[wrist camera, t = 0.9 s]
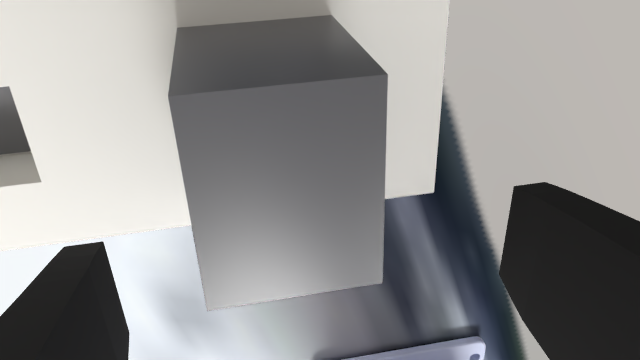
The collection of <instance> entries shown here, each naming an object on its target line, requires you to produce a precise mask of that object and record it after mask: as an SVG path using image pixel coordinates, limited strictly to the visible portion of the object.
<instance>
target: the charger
mask: <svg viewBox="0 0 640 360" xmlns="http://www.w3.org/2000/svg"><path fill="white" fill-rule="evenodd" d="M387 90H388V74H387V73H386V72H385V71H384V70H383V68H382V67H381V66H380V65H379V64H378V63H377V62H376V61H375V60H374V59H373V58H372V57H371V56H370V55H369V54H368V53H367V52H366V51H365V50H364V48H363V47H362V46H361V45H360V44H359V43H358V42H357V41H356V40H355V39H354V38H353V37H352V36H351V35H350V34H349V33H348V32H347V31H346V29H345V28H344V27H343V26H342V25H341V24H340V23H339V22H338V21H337V20H336V19H335V18H334V17H333V16H332V15H326V16H313V17H301V18H289V19H277V20H265V21H253V22H241V23H229V24H216V25H204V26H192V27H180V28H177V32H176V39H175V47H174V54H173V62H172V69H171V77H170V84H169V92H168V100H169V105H170V111H171V116H172V121H173V127H174V132H175V138H176V143H177V149H178V154H179V160H180V165H181V171H182V176H183V182H184V187H185V193H186V198H187V203H188V209H189V214H190V220H191V225H192V231H193V236H194V242H195V247H196V253H197V258H198V264H199V269H200V274H201V280H202V285H203V291H204V296H205V302H206V307H207V311H211V310H218V309H224V308H230V307H236V306H243V305H249V304H255V303H262V302H268V301H274V300H280V299H287V298H293V297H299V296H306V295H312V294H318V293H324V292H331V291H337V290H343V289H350V288H356V287H362V286H368V285H375V284H381V283H383V249H384V209H385V170H386V130H387Z"/></svg>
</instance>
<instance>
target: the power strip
mask: <svg viewBox="0 0 640 360" xmlns="http://www.w3.org/2000/svg"><path fill="white" fill-rule="evenodd" d="M449 6H450V0H0V251H7V250H14V249H21V248H29V247H36V246H44V245H51V244H58V243H66V242H73V241H80V240H88V239H95V238H103V237H110V236H117V235H125V234H132V233H139V232H147V231H154V230H162V229H169V228H176V227H184V226H191V220H190V214H189V209H188V203H187V198H186V193H185V187H184V182H183V176H182V171H181V165H180V160H179V154H178V149H177V143H176V138H175V132H174V127H173V121H172V116H171V111H170V105H169V100H168V92H169V84H170V77H171V69H172V62H173V54H174V47H175V39H176V32H177V28H180V27H192V26H204V25H216V24H229V23H241V22H253V21H265V20H277V19H289V18H301V17H313V16H326V15H332V16H333V17H334V18H335V19H336V20H337V21H338V22H339V23H340V24H341V25H342V26H343V27H344V28H345V29H346V31H347V32H348V33H349V34H350V35H351V36H352V37H353V38H354V39H355V40H356V41H357V42H358V43H359V44H360V45H361V46H362V47H363V48H364V50H365V51H366V52H367V53H368V54H369V55H370V56H371V57H372V58H373V59H374V60H375V61H376V62H377V63H378V64H379V65H380V66H381V67H382V68H383V70H384V71H385V72H386V73H387V74H388V90H387V130H386V170H385V199H390V198H397V197H405V196H412V195H420V194H427V193H434V186H435V174H436V162H437V150H438V138H439V126H440V114H441V102H442V90H443V78H444V66H445V54H446V42H447V30H448V18H449Z"/></svg>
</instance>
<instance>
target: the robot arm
mask: <svg viewBox="0 0 640 360" xmlns="http://www.w3.org/2000/svg"><path fill="white" fill-rule="evenodd" d="M499 275H500V277H501V279H502V281H503V283H504V285H505V287H506V289H507V291H508V293H509V295H510V297H511V299H512V301H513V303H514V305H515V307H516V309H517V311H518V312H519V314H520V316H521V318H522V320H523V321H524V323H525V324H526V326H527V327H528V329H529V330H530V332H531V333H532V335H533V336H534V338H535V339H536V340H537V342H538V343H539V345H540V346H541V348H542V349H543V351H544V352H545V353H546V355H547V356H548V358H549V359H550V360H640V221H637V220H635V219H633V218H631V217H628V216H626V215H624V214H622V213H619V212H617V211H615V210H613V209H610V208H608V207H606V206H603V205H601V204H599V203H596V202H594V201H592V200H590V199H587V198H585V197H583V196H580V195H578V194H576V193H573V192H571V191H568V190H566V189H563V188H560V187H558V186H555V185H552V184H549V183H546V182H542V183H535V184H527V185H520V186H514V190H513V195H512V201H511V207H510V213H509V219H508V225H507V230H506V236H505V243H504V248H503V254H502V260H501V265H500V271H499ZM485 348H486V346H485V343H484V341H483V340H482V339H481V337H478V336H474V337H468V338H462V339H456V340H451V341H445V342H439V343H434V344H428V345H422V346H417V347H411V348H405V349H400V350H394V351H388V352H383V353H377V354H371V355H366V356H360V357H354V358H349V359H343V360H484V354H485ZM128 351H129V330H128V327H127V323H126V320H125V316H124V313H123V309H122V306H121V302H120V299H119V295H118V292H117V288H116V285H115V281H114V278H113V274H112V271H111V267H110V264H109V260H108V257H107V253H106V250H105V246H104V243H103V242H96V243H89V244H82V245H74V246H67V247H63V249H62V250H61V251H60V252H59V253H58V254H57V255H56V256H55V257H54V258H53V259H52V260H51V261H50V262H49V263H48V265H47V266H46V267H45V268H44V269H43V270H42V271H41V272H40V273H39V275H38V276H37V277H36V278H35V279H34V280H33V281H32V282H31V284H30V285H29V286H28V287H27V288H26V289H25V290H24V291H23V292H22V294H21V295H20V296H19V297H18V298H17V299H16V300H15V301H14V302H13V303H12V305H11V306H10V307H9V308H8V309H7V310H6V311H5V312H4V313H3V314H2V315H1V316H0V360H128Z"/></svg>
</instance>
